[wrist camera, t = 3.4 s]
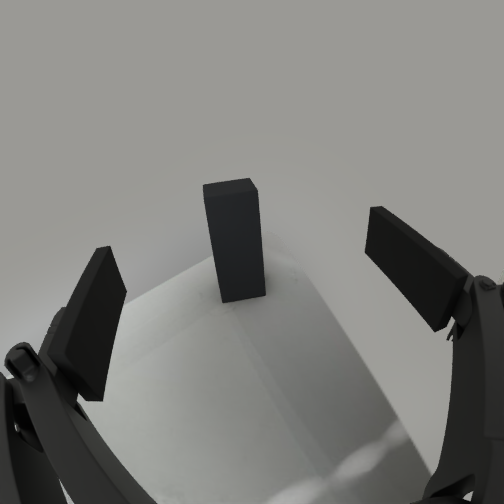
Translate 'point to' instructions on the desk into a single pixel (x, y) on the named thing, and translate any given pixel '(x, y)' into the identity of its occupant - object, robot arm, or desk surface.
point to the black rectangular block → (236, 238)
